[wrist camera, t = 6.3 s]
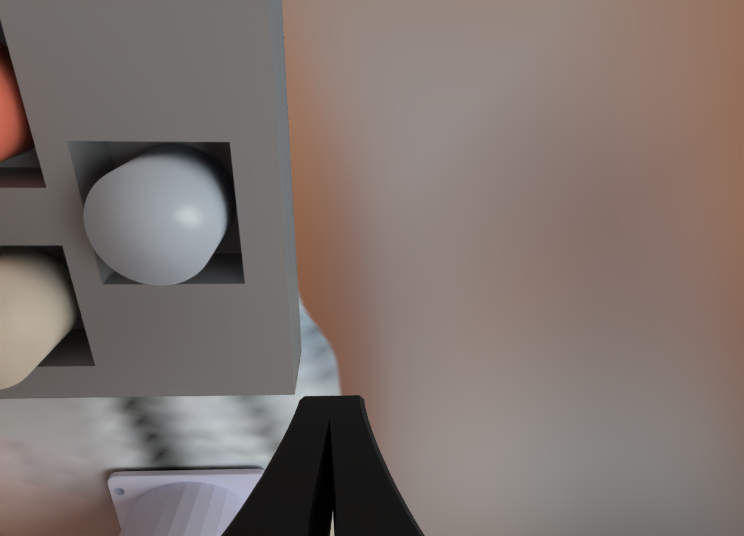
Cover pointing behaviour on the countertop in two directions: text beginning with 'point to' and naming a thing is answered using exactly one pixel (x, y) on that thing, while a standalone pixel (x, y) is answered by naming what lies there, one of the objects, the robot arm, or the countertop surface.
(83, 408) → the countertop surface
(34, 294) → the button ivory
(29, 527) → the countertop surface
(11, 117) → the button red
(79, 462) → the countertop surface
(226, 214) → the button slate
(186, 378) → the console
